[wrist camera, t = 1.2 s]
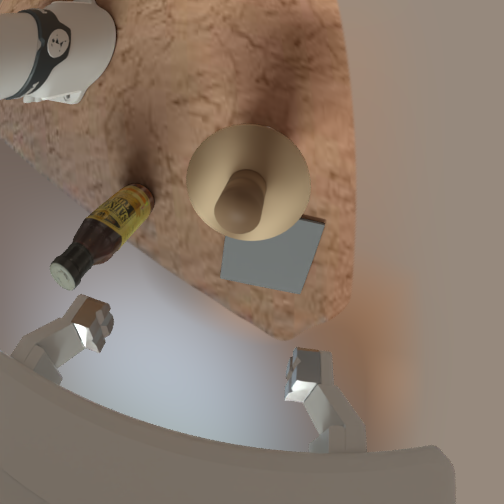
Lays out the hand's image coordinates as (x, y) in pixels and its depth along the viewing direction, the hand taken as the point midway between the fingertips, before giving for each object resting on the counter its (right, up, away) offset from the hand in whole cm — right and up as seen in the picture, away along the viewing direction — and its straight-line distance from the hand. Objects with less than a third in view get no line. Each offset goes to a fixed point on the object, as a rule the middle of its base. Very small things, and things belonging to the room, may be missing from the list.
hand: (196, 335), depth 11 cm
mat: (+5, +3, +34) cm, 34 cm away
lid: (+2, +10, +14) cm, 17 cm away
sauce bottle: (-16, +12, +31) cm, 37 cm away
